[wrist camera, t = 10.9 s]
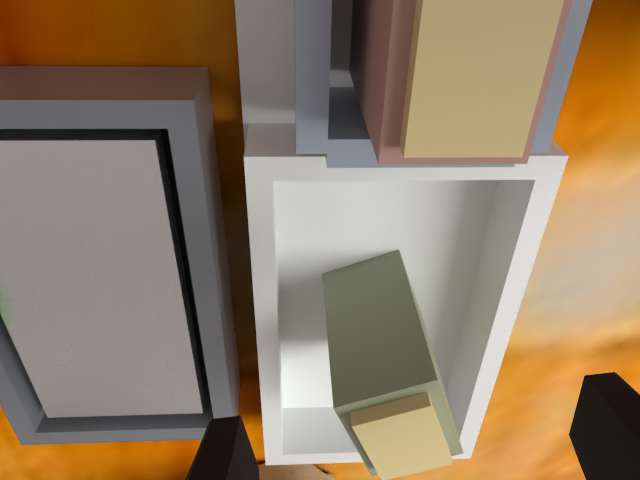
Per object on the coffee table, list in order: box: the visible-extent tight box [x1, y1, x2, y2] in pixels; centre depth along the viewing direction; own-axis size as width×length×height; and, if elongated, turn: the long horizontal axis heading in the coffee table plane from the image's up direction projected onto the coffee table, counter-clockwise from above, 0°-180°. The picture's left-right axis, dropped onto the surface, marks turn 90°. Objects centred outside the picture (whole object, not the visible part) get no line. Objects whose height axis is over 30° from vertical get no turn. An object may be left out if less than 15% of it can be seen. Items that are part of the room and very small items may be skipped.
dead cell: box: [349, 0, 573, 165], centre depth 12 cm, size 3×4×7 cm
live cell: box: [322, 250, 464, 480], centre depth 19 cm, size 3×4×7 cm
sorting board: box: [234, 0, 593, 465], centre depth 18 cm, size 10×23×4 cm, turn 179°
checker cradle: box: [0, 66, 241, 445], centre depth 19 cm, size 9×15×4 cm, turn 179°
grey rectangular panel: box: [0, 129, 205, 418], centre depth 18 cm, size 6×12×1 cm, turn 179°
